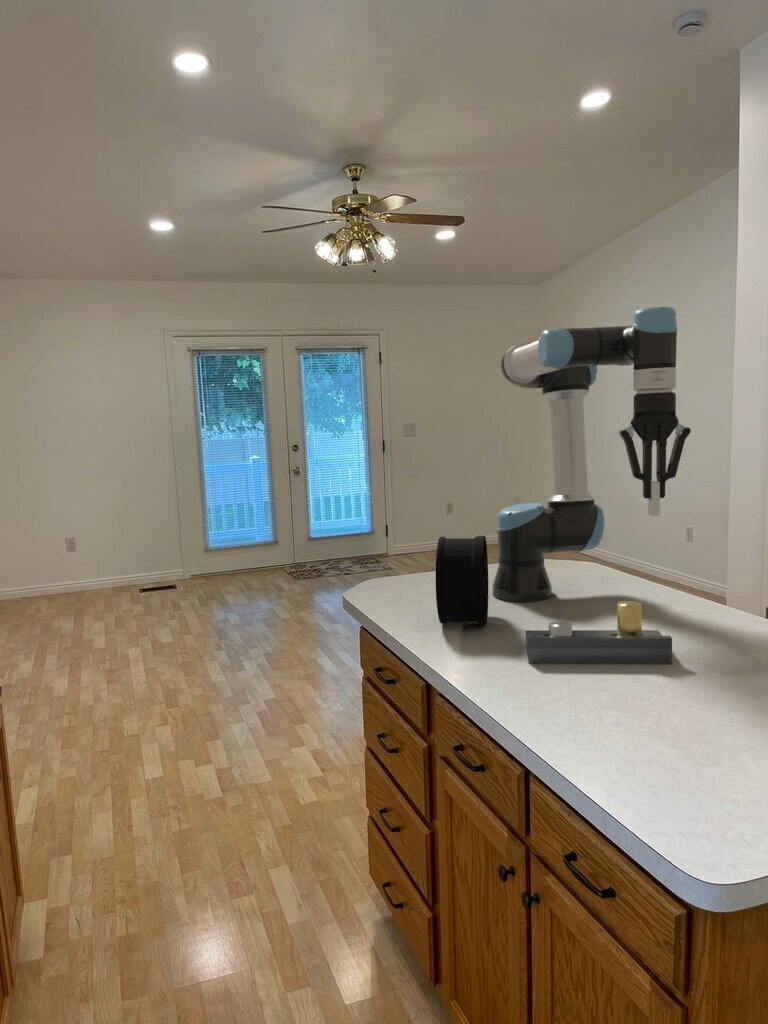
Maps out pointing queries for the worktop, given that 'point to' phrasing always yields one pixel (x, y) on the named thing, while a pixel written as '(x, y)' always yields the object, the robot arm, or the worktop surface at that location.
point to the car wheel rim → (462, 580)
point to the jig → (598, 648)
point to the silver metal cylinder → (560, 628)
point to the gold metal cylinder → (629, 618)
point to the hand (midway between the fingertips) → (653, 514)
